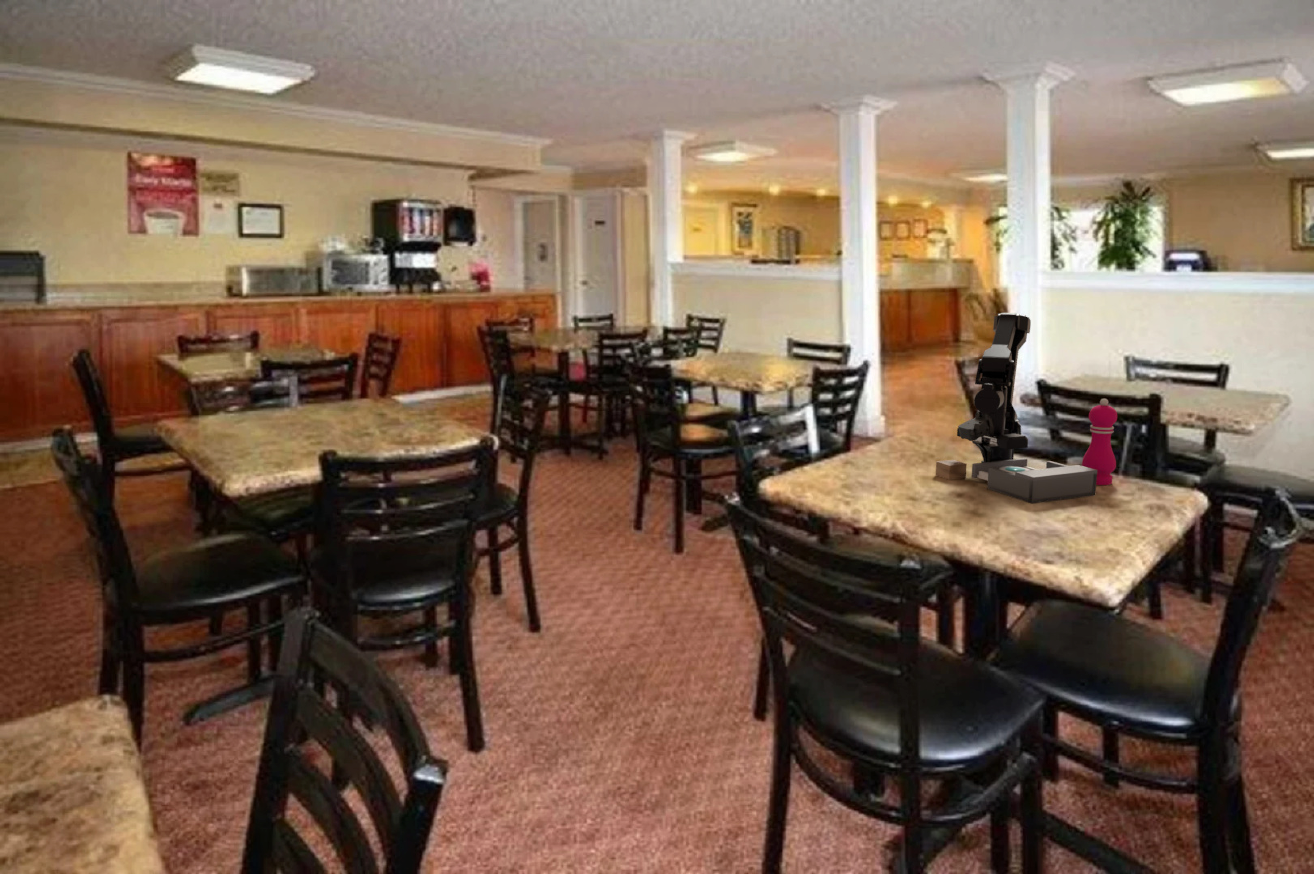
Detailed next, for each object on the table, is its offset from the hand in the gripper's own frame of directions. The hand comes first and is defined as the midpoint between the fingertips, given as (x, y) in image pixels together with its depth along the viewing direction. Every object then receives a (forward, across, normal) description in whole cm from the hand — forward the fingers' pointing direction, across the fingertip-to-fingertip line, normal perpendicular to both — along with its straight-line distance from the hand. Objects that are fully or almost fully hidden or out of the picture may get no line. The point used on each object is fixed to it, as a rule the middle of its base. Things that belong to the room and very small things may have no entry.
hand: (989, 471), depth 223 cm
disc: (0, +7, +1) cm, 7 cm away
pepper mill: (+2, +14, +20) cm, 24 cm away
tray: (+1, +8, +1) cm, 9 cm away
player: (+2, +16, +1) cm, 16 cm away
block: (+2, -4, -8) cm, 9 cm away
